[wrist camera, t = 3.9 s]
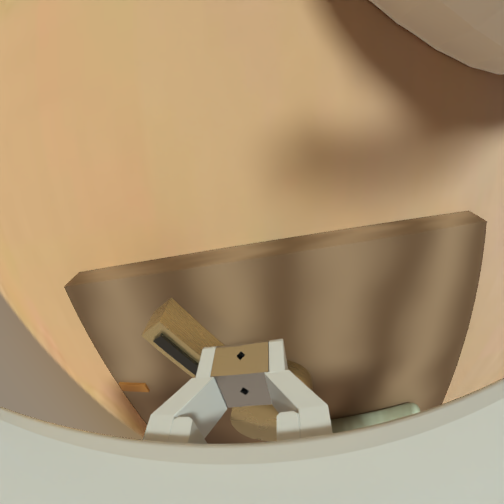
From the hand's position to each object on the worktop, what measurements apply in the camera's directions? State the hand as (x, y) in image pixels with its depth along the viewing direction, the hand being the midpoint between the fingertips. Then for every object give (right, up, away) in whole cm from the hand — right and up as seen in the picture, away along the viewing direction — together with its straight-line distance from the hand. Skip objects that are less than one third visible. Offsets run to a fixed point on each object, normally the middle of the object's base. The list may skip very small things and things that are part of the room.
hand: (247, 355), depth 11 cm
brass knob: (-1, -3, +6) cm, 7 cm away
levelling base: (+3, -5, +10) cm, 11 cm away
